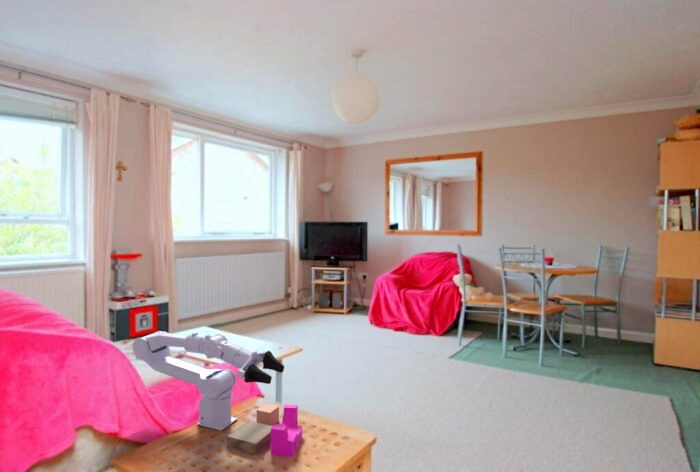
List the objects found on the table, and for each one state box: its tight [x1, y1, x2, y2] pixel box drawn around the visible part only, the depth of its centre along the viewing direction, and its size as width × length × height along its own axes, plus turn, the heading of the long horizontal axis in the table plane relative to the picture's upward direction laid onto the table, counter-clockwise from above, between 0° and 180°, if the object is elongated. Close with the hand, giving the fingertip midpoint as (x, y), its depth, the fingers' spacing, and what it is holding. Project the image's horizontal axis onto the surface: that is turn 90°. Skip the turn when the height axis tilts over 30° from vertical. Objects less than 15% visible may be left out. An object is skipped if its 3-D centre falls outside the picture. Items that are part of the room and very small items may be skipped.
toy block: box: [270, 404, 303, 458], centre depth 120 cm, size 15×6×8 cm, turn 173°
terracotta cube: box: [256, 403, 280, 426], centre depth 131 cm, size 5×5×5 cm
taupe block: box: [226, 420, 272, 455], centre depth 120 cm, size 10×10×3 cm
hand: (277, 374), depth 124 cm, fingers open, 7 cm apart
